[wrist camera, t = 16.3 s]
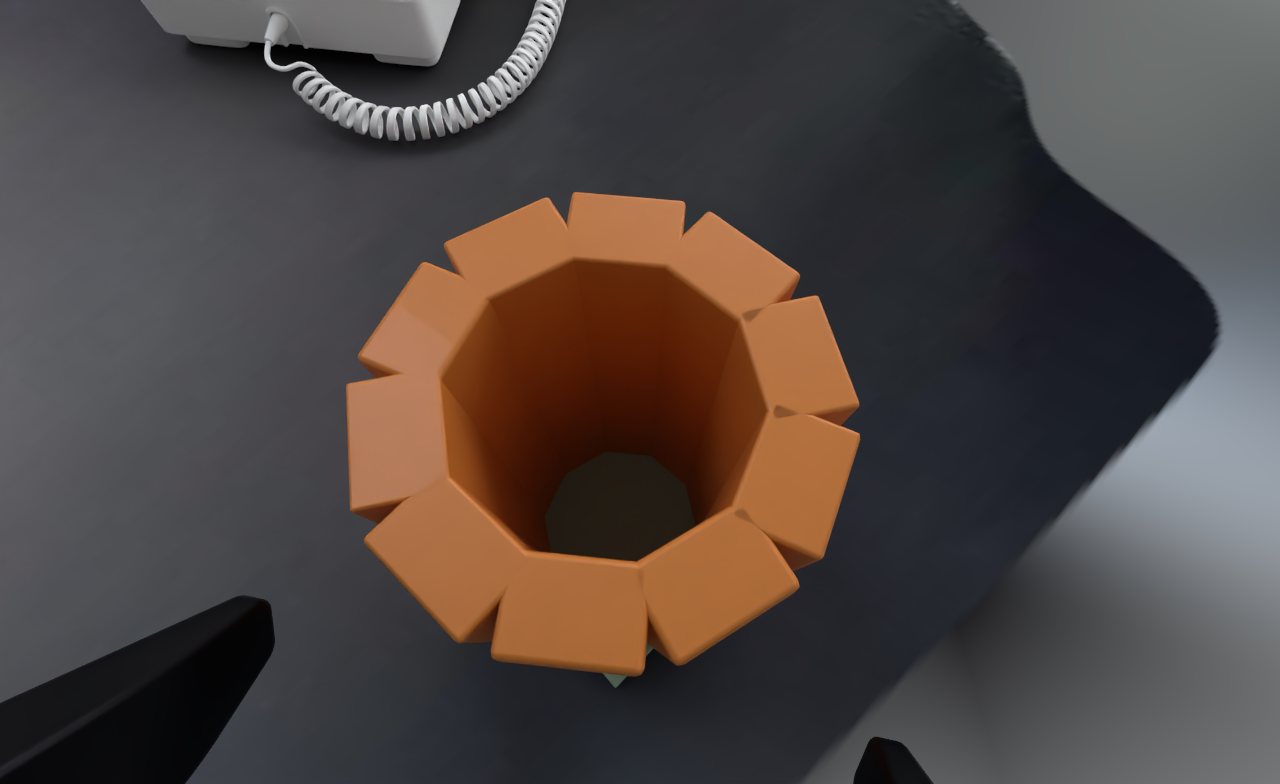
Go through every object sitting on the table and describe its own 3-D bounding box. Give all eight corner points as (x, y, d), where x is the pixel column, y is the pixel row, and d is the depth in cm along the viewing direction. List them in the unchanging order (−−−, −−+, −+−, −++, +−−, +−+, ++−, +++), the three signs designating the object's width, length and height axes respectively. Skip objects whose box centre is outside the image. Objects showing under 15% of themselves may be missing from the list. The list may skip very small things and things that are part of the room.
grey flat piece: (762, 532, 17) (764, 531, 16) (616, 687, 15) (615, 688, 15) (625, 398, 18) (625, 394, 18) (479, 526, 17) (476, 524, 16)
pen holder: (735, 664, 15) (874, 703, 6) (479, 636, 15) (266, 635, 6) (744, 426, 17) (852, 213, 9) (523, 404, 18) (410, 177, 9)
